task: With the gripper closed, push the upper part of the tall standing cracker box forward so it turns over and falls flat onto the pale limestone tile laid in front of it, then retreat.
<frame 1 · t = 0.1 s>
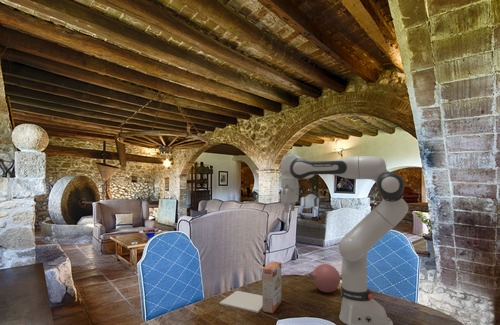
hand: (289, 211, 145), 48 cm above the table, fingers open, 8 cm apart
balloon: (322, 291, 161), on the table
cracker box: (272, 307, 141), on the table
limestone tile: (246, 301, 148), on the table
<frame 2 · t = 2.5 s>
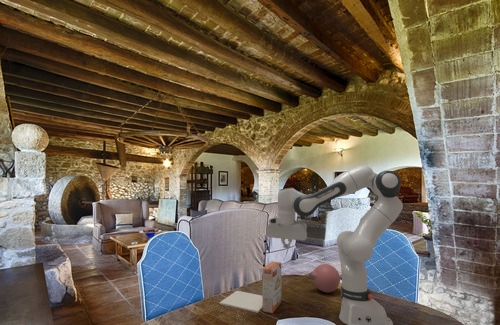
hand: (286, 247, 140), 30 cm above the table, fingers closed
nothing on the table moved.
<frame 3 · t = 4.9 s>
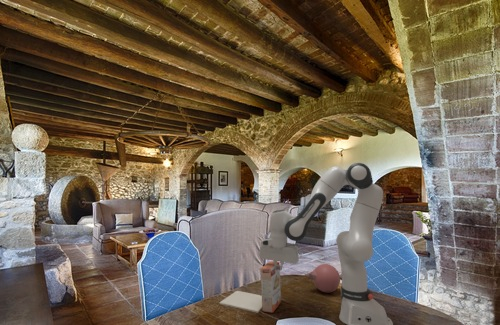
hand: (278, 269, 141), 19 cm above the table, fingers closed
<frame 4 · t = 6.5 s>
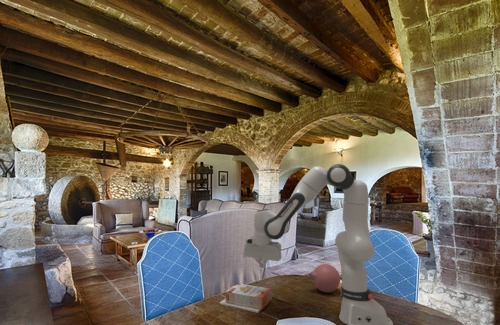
hand: (262, 267, 145), 19 cm above the table, fingers closed
cracker box: (267, 298, 142), point 4 cm above the table, touching limestone tile
everything else where it was.
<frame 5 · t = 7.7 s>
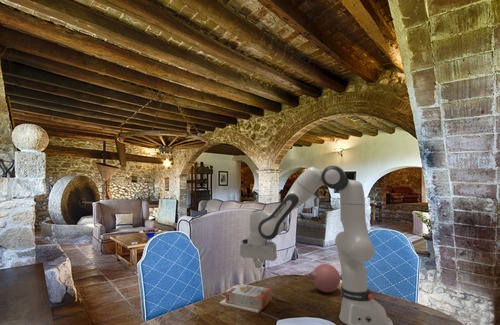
hand: (258, 267, 146), 19 cm above the table, fingers closed
nothing on the table moved.
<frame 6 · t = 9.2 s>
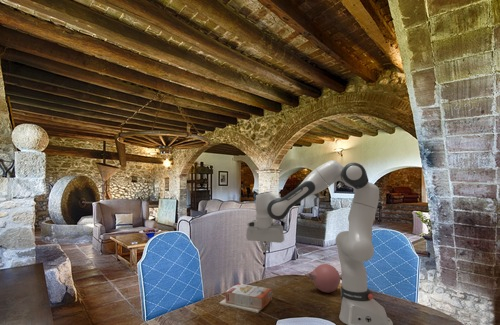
hand: (265, 250, 145), 28 cm above the table, fingers closed
nothing on the table moved.
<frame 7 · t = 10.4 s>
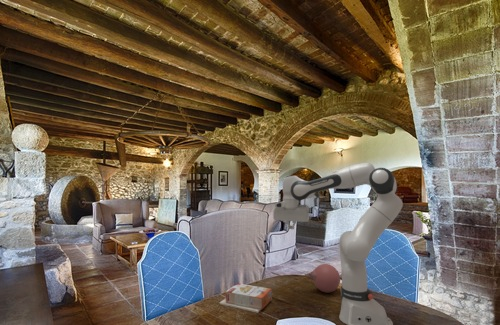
hand: (291, 229, 156), 37 cm above the table, fingers closed
nothing on the table moved.
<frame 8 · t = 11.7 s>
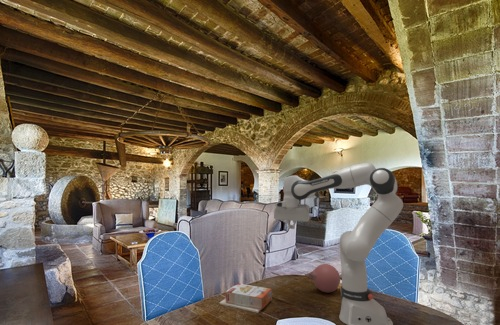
hand: (291, 228, 157), 37 cm above the table, fingers closed
nothing on the table moved.
at the end: cracker box tilted 91°; cracker box inside the target area (13.5 cm from its centre), point 3.9 cm above the table; the gripper is holding nothing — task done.
